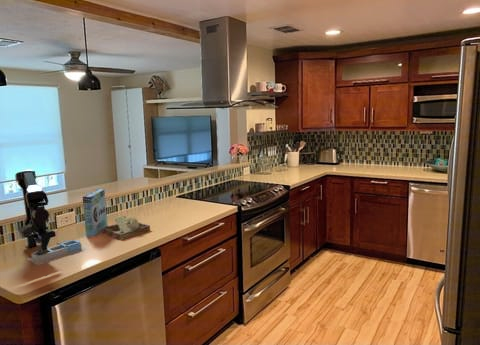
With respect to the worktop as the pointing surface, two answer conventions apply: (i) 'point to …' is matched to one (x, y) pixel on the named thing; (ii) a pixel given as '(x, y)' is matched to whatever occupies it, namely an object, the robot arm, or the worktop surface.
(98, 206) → the gum box
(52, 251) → the narrow cubby shelf
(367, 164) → the worktop surface
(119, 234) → the cheese crate
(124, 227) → the pale green lump
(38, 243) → the dark grey cylinder
